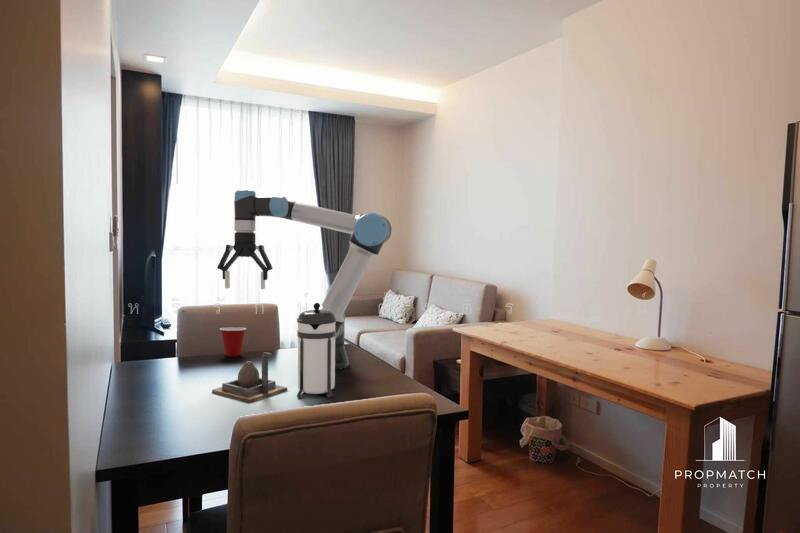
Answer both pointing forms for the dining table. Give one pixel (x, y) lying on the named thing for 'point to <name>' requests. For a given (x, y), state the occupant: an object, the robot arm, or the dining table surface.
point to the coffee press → (316, 352)
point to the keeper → (253, 393)
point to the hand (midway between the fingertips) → (245, 288)
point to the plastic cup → (233, 340)
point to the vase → (248, 375)
